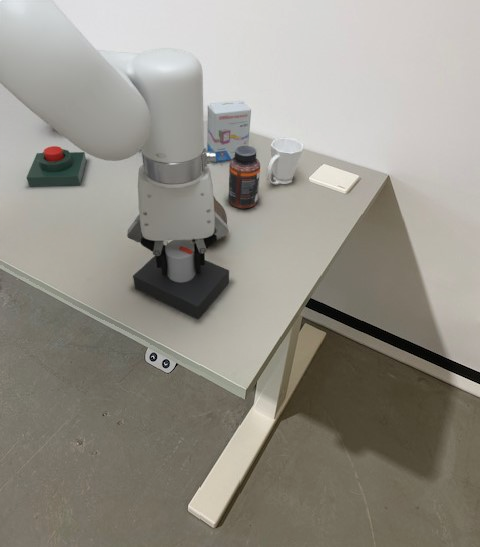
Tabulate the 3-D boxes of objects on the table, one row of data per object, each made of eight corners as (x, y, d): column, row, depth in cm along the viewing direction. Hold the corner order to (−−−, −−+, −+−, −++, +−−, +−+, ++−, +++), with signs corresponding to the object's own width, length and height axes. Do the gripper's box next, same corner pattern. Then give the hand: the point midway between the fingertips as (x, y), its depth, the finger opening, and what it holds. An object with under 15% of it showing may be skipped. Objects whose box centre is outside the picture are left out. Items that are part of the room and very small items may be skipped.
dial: (161, 275, 65) (158, 249, 61) (178, 259, 67) (176, 233, 64) (185, 286, 63) (183, 260, 59) (201, 269, 66) (200, 243, 62)
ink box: (214, 163, 96) (214, 112, 87) (207, 153, 99) (206, 103, 91) (248, 157, 98) (251, 108, 90) (240, 148, 102) (243, 99, 93)
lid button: (44, 162, 86) (41, 154, 84) (47, 154, 88) (45, 146, 87) (62, 162, 86) (60, 154, 85) (65, 153, 89) (63, 145, 87)
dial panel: (135, 289, 66) (132, 275, 64) (169, 257, 72) (167, 243, 70) (198, 319, 63) (197, 306, 60) (228, 283, 68) (229, 270, 66)
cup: (304, 178, 93) (310, 144, 87) (280, 197, 87) (284, 162, 81) (278, 167, 96) (282, 133, 90) (252, 185, 90) (255, 150, 84)
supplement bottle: (263, 203, 85) (268, 152, 77) (241, 213, 82) (245, 161, 74) (243, 190, 88) (247, 139, 80) (222, 199, 85) (223, 148, 77)
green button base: (29, 186, 86) (23, 169, 83) (39, 162, 93) (34, 145, 90) (80, 185, 87) (76, 168, 84) (86, 161, 94) (82, 144, 91)
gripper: (237, 146, 56) (232, 249, 68) (106, 148, 54) (126, 255, 66) (245, 175, 50) (238, 282, 63) (100, 180, 48) (123, 289, 61)
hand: (181, 267), depth 65 cm, fingers closed on dial, 4 cm apart
